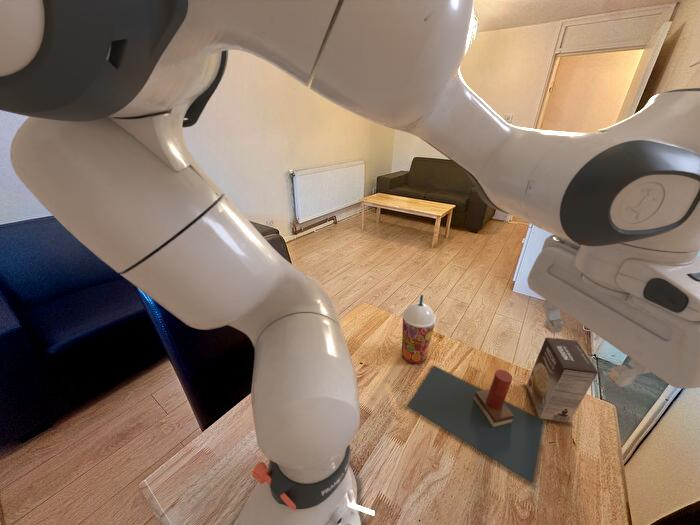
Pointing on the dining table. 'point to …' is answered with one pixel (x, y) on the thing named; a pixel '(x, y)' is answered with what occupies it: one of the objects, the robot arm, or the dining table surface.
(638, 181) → the robot arm
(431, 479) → the dining table surface
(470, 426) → the mat
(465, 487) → the dining table surface
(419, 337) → the smoothie
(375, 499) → the dining table surface
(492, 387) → the red cylinder on base
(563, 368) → the coffee box
